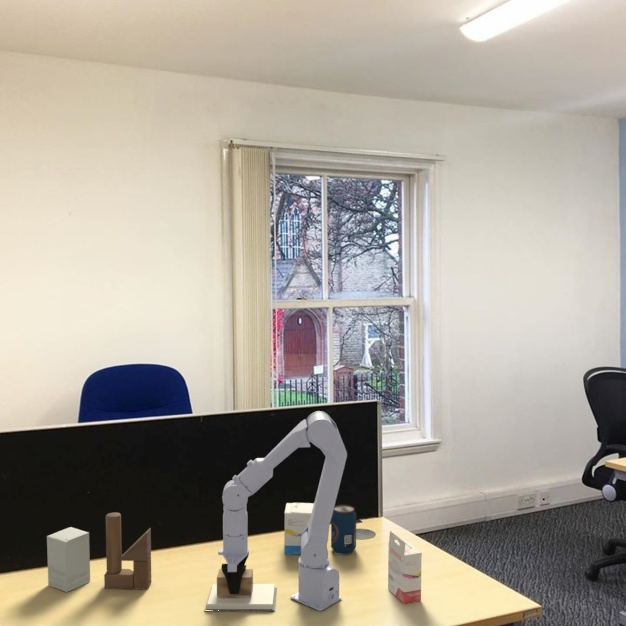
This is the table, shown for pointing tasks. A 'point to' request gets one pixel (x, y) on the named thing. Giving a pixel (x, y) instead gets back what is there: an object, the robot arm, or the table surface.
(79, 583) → the supplement box
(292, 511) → the ink box
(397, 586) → the ink cartridge box
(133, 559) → the wooden block
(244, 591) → the block
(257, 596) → the marked board
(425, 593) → the table surface
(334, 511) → the soda can
